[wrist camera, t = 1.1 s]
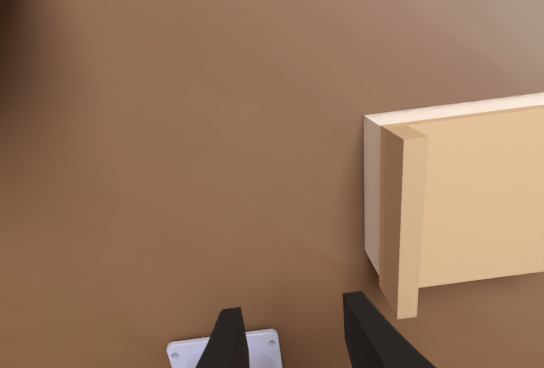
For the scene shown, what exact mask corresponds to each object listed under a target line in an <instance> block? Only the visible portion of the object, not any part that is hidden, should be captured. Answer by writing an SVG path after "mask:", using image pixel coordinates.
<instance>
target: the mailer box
mask: <svg viewBox="0 0 544 368" xmlns="http://www.w3.org/2000/svg"><path fill="white" fill-rule="evenodd" d="M536 105H544V92H543V93H535V94H527V95H519V96H511V97H503V98H495V99H488V100H480V101H472V102H464V103H456V104H448V105H440V106H432V107H424V108H417V109H409V110H401V111H393V112H385V113H377V114H369V115H363V123H364V226H365V251H366V253H367V255H368V257H369V259H370V260H371V262H372V264H373V266H374V268H375V269H376V271H377V273H378V275H379V248H380V151H381V125H387V124H395V123H403V122H411V121H418V120H426V119H434V118H442V117H450V116H458V115H466V114H473V113H481V112H489V111H497V110H505V109H513V108H521V107H528V106H536Z"/></svg>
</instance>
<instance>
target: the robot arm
mask: <svg viewBox="0 0 544 368" xmlns="http://www.w3.org/2000/svg"><path fill="white" fill-rule="evenodd" d="M343 307H344V331H345V341H346V345H347V349H348V353H349V356H350V360H351V364H352V367H353V368H436V367H435V366H434V365H433V364H432V363H430V362H429V361H428V360H427V359H426V358H425V357H424V356H423V355H422V354H421V353H419V352H418V351H417V350H416V349H415V348H414V347H413V346H412V345H411V344H410V343H409V342H408V341H407V340H406V339H405V338H404V337H403V336H402V335H401V334H400V333H399V332H398V331H397V330H396V329H395V328H394V327H393V326H392V325H391V324H390V323H389V322H388V321H387V320H386V319H385V317H384V316H383V315H382V314H381V313H380V312H379V311H378V310H377V309H376V307H375V306H374V305H373V304H372V303H371V302H370V300H369V299H368V298H367V297H366V296H365V294H364V293H362V292H361V291H358V292H351V293H343ZM271 340H274V341H271ZM174 353H177V354H174ZM167 354H168V357H169V360H170V363H171V366H172V368H283V367H282V360H281V353H280V346H279V339H278V333H277V331H276V330H274V329H265V330H258V331H250V332H245V328H244V323H243V317H242V312H241V307H237V308H230V309H223V310H222V311H221V312H220V314H219V317H218V319H217V322H216V324H215V327H214V329H213V332H212V334H211V336H210V337H205V338H197V339H190V340H182V341H175V342H170V343H169V344H168V346H167Z"/></svg>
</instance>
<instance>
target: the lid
mask: <svg viewBox="0 0 544 368" xmlns="http://www.w3.org/2000/svg"><path fill="white" fill-rule="evenodd" d="M541 271H544V105H536V106H528V107H521V108H513V109H505V110H497V111H489V112H481V113H473V114H466V115H458V116H450V117H442V118H434V119H426V120H418V121H411V122H403V123H395V124H387V125H381V151H380V248H379V286H380V288H381V290H382V292H383V294H384V296H385V297H386V299H387V301H388V303H389V305H390V307H391V309H392V311H393V313H394V314H395V316H396V318H397V319H403V318H410V317H417V303H418V288H420V287H428V286H436V285H443V284H451V283H458V282H466V281H473V280H481V279H488V278H496V277H504V276H511V275H519V274H526V273H534V272H541Z"/></svg>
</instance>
